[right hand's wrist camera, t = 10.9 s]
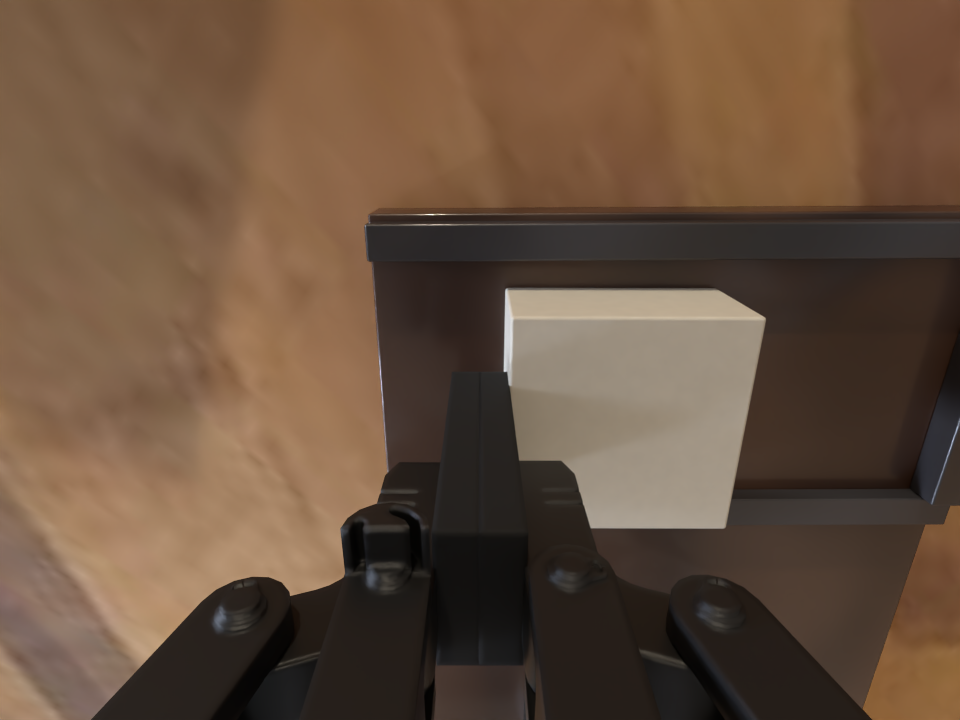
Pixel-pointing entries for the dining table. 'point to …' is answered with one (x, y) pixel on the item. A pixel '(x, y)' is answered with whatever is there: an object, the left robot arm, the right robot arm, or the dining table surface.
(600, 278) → the slider board
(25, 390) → the dining table surface
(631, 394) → the slider
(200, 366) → the dining table surface
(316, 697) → the right robot arm
